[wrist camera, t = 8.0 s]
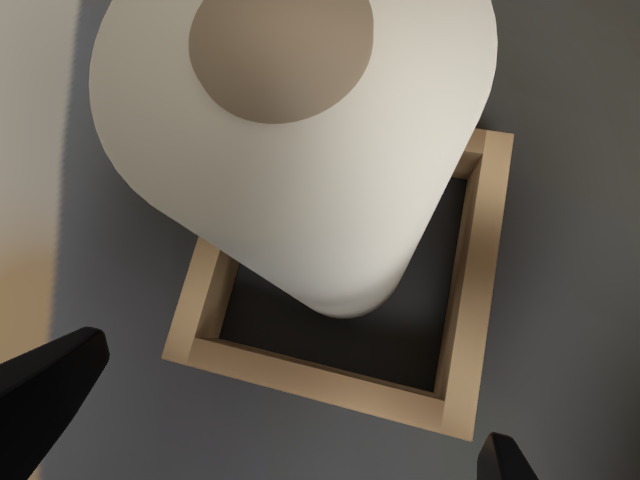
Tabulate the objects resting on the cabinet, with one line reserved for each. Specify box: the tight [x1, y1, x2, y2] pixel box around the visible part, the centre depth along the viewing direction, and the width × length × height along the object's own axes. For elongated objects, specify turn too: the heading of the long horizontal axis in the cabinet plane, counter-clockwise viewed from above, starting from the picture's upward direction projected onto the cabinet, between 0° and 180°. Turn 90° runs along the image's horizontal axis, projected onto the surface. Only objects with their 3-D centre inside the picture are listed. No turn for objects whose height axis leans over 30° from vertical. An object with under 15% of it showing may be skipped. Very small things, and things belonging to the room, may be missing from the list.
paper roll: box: [89, 0, 498, 319], centre depth 11 cm, size 5×5×13 cm
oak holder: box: [161, 129, 514, 442], centre depth 16 cm, size 11×11×2 cm
